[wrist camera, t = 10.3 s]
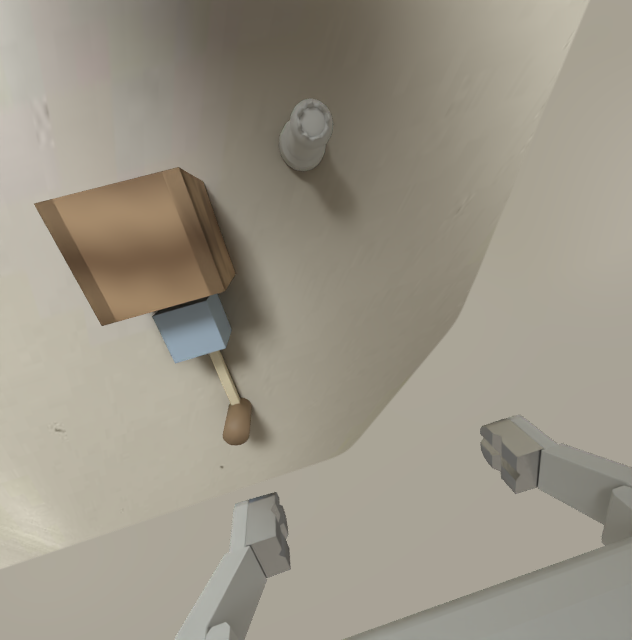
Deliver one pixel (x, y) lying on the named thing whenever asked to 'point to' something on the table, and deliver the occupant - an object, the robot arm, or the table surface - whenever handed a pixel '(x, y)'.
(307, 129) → the rook chess piece
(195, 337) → the block with stick handle
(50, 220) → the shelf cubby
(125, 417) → the table surface
